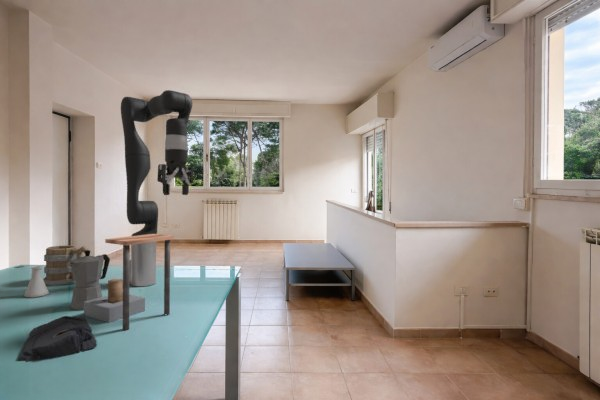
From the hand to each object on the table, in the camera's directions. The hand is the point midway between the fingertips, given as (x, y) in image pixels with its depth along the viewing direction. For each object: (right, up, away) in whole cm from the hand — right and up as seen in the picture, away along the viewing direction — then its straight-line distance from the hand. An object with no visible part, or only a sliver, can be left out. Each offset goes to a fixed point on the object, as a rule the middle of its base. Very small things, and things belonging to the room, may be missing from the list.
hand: (176, 194), depth 131 cm
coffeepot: (-25, -36, -10) cm, 45 cm away
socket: (-13, -36, -18) cm, 42 cm away
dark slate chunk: (-16, -38, -38) cm, 56 cm away
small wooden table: (-3, -37, -23) cm, 43 cm away
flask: (-49, -36, 0) cm, 61 cm away
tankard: (-49, -35, +18) cm, 63 cm away
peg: (-13, -36, -18) cm, 42 cm away
